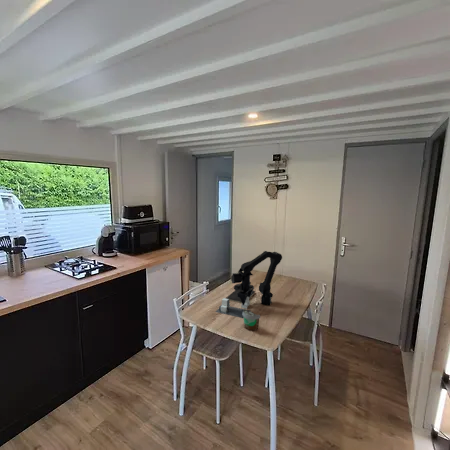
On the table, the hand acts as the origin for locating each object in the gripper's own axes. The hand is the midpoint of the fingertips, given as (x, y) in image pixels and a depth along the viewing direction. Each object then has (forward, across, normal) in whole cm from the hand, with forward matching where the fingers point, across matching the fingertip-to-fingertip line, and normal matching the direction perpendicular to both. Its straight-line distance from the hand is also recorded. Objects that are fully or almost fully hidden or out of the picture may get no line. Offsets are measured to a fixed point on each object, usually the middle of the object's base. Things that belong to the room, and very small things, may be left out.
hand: (245, 302), depth 184 cm
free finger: (+4, 0, 0) cm, 4 cm away
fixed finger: (+3, +11, -11) cm, 16 cm away
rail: (+4, +11, -5) cm, 13 cm away
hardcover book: (+4, -15, -10) cm, 18 cm away
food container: (+4, +26, +12) cm, 29 cm away
